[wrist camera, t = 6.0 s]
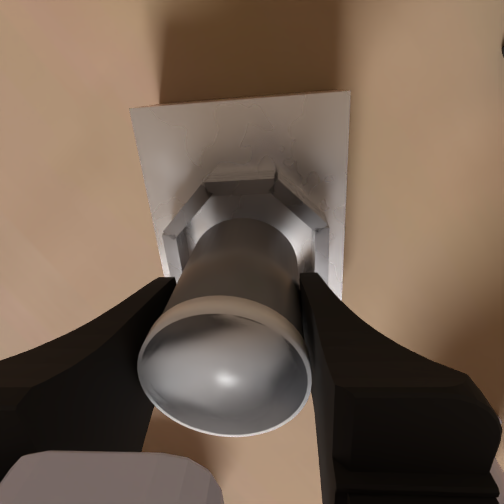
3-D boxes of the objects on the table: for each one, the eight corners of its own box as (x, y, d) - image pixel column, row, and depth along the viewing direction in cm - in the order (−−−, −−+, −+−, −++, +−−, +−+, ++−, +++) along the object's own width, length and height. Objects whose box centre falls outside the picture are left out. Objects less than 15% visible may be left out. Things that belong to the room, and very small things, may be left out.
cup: (305, 306, 15) (318, 433, 10) (203, 316, 16) (164, 439, 10) (293, 208, 13) (302, 301, 8) (177, 223, 14) (112, 319, 8)
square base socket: (329, 308, 23) (344, 370, 18) (195, 311, 23) (172, 371, 19) (335, 89, 17) (358, 91, 12) (159, 104, 18) (113, 110, 13)
